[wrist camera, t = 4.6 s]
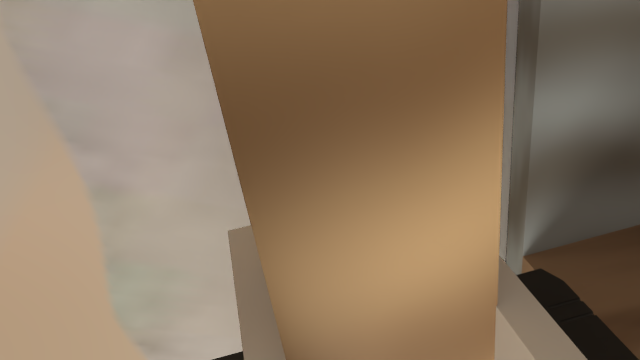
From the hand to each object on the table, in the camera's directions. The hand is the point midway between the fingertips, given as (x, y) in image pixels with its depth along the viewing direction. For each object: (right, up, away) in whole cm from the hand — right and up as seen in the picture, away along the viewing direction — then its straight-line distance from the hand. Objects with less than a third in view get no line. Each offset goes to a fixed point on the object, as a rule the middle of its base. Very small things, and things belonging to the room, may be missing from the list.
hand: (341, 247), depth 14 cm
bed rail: (0, 0, 0) cm, 0 cm away
